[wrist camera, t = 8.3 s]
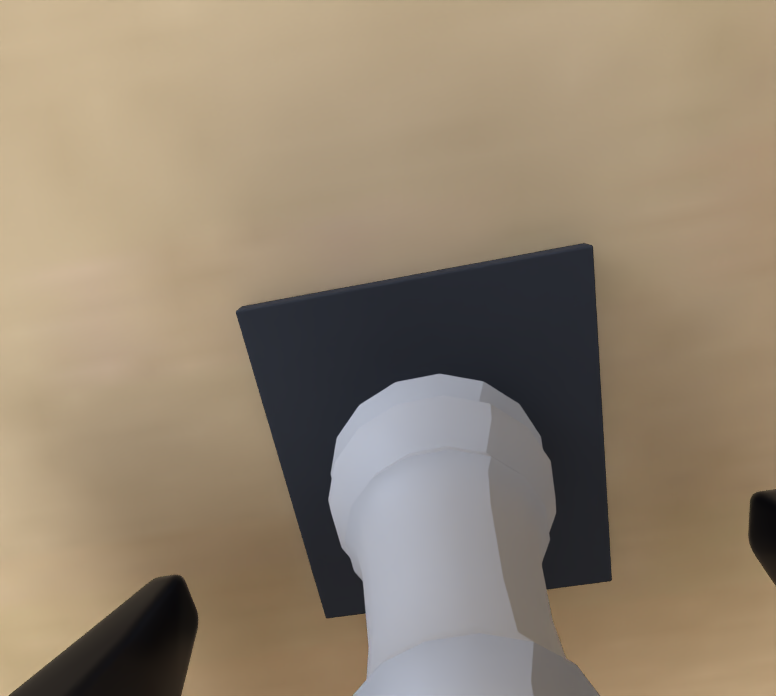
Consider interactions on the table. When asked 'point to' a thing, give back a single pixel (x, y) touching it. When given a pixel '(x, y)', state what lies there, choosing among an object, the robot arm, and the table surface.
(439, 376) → the rook chess piece
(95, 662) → the robot arm
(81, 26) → the table surface
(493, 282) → the coaster
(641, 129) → the table surface
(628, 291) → the table surface
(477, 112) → the table surface
